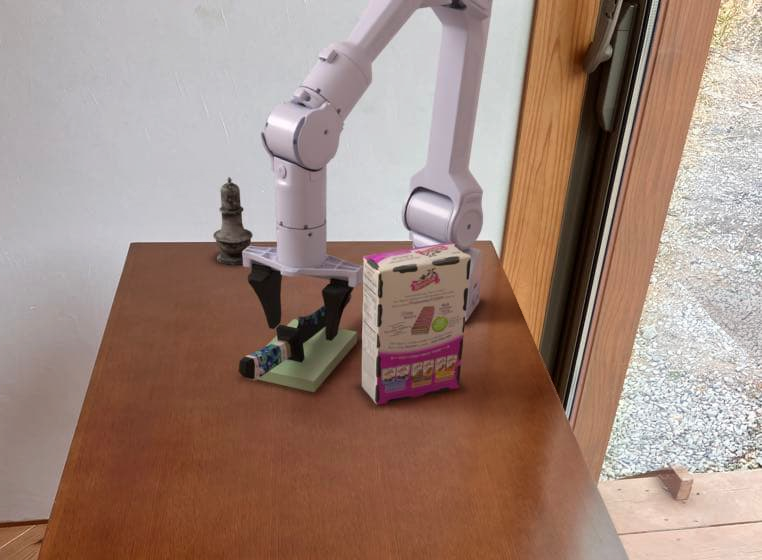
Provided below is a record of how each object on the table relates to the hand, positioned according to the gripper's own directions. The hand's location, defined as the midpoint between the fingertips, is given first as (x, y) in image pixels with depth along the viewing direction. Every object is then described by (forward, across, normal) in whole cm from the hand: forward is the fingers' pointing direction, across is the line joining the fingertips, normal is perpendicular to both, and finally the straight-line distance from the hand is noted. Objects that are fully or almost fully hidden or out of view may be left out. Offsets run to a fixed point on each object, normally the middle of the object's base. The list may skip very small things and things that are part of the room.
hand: (303, 331), depth 109 cm
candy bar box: (+4, +14, -2) cm, 15 cm away
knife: (+2, 0, 0) cm, 3 cm away
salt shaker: (+4, -23, +25) cm, 34 cm away
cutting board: (+4, 0, 0) cm, 4 cm away
